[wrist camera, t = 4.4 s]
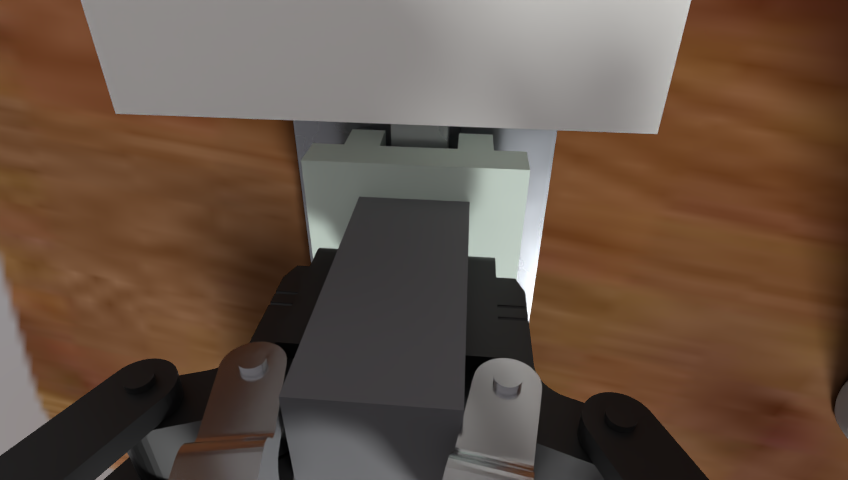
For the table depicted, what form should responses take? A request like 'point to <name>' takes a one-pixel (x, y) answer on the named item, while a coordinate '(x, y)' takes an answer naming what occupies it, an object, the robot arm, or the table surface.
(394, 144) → the rail
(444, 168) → the carriage
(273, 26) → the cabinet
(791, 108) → the table surface
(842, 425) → the travel mug
